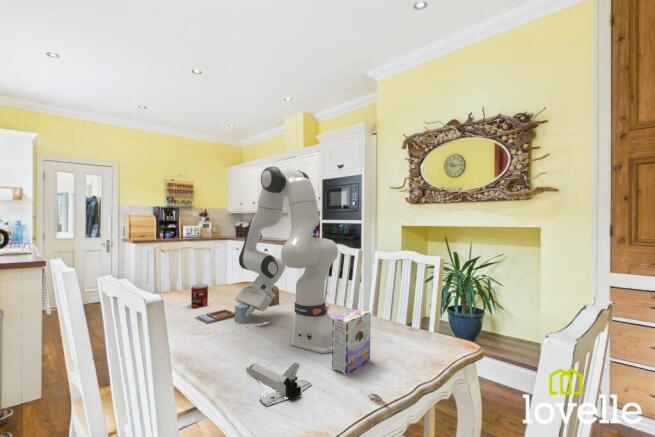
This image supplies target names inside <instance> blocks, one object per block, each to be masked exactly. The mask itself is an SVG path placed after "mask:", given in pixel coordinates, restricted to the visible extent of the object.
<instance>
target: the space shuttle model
mask: <svg viewBox="0 0 655 437" xmlns="http://www.w3.org/2000/svg"><path fill="white" fill-rule="evenodd" d="M299 368H300V364H299V363H297V362H293V364H291V366H290V367H289V368H288V369H287V370H286V371H285V372H283V374H281V373H278V372H276V371H274V370H272V369H269V368H267V367H266V366H264V365H261V364H259V363H257V362H255V363H252V364H251V365H248V366H247V367H246V372H247V374H249V376H250V377H252V378H253V377H254V378H253V379H255V380H257V381H258V380H259V381H261V382H262V383H263V384H264V385H267V386H269V387H271V388H272V389H274V390H276V391H275V392H276V393H274V392H273V393H274V394H273V393H271V394H273V395H271V394H269V395H267V394H268V393H267V394H266V395H267V396H266V395H265V396H266V397H264V396H263V397H262V398H263V400H262V398H261V397H260V398H261V399H260V398H259V401H260V403H261V402H262V403H263V404H262V403H261V404H262V405H264V406H265V405H266V406H265V407H268V406H273V405H275V404H278V403H281V401H282V402H284V400H285V401H287V400H286V399H285V398H284V397H286V398H288V400H294V399H296V398H299V397H301V396H302V395H303V393H302V392H304V391H305V390H306V389H307V388H309V387H310V386H312V383H311V382H309V381H307V380H304V379H298V376H297V373H298V370H299ZM259 381H258V382H259ZM303 390H304V391H303ZM278 392H279V393H278ZM300 392H301V393H300ZM270 395H271V396H270Z"/></svg>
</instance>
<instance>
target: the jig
mask: <svg viewBox="0 0 655 437" xmlns="http://www.w3.org/2000/svg"><path fill="white" fill-rule="evenodd" d="M205 315H206V316H208V317H211V318H213V319H215V322H211V323H207V322H205V321H203V320H201V319H199V318H197V317H194V319H195V320H196V321H197V320H198V322H202V323H203V324H205V325H211V324H214V323H219V322H223V321H227V320H231V319H235V311H231V310H228V309H221V310H217V311H212V312H208V313H205Z"/></svg>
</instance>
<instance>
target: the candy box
mask: <svg viewBox="0 0 655 437" xmlns="http://www.w3.org/2000/svg"><path fill="white" fill-rule="evenodd" d="M332 319H333V338H332V352H331V370H333V371H334V372H337V373H339V372H340V373H339V374H341V373H342V375H344V374H345V375H344V376H347V375H349V374H351V373H352V372H353V370H354V371H355V370H356V369H358V368H360V367H361V366H363V365H364V364H366V363H368V362H369V361H371V311H369V310H363V309H359V308H355V309H354V310H351V311H348V312H345V313H343V314H341V315H339V316H335V317H332ZM348 373H349V374H348ZM346 374H347V375H346Z"/></svg>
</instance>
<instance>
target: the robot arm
mask: <svg viewBox="0 0 655 437" xmlns="http://www.w3.org/2000/svg"><path fill="white" fill-rule="evenodd" d="M260 184H261V190H260V193H259V196H258V197H259V198H258V201H257V210H256V212H255V214H254V215H253V216H252V217H251V219H249V220H250V221H249V223H248V227H247V230H246V235H245V237H244V238H245V239H244V243H243V246H242V249H241V251H240V253H239V256H238V263H239V266H240V268H241V269H243V270H247V271H251V272H253V273H256V274H258V276H257V277H256V278H255V279H254V281H253V282H252V283H251V285H247V286H245V287H243V288H242V289H241V290H240V291H239V292H238V293H237V294H236V295H235V298H234V300H235V301H236V303H238V305H242V304H247V305H250V309H249V310H247V311H245V313H244V315H245V316H246V317H248V316H249V315H250V314H251V315H252V313H254V312H255V311H256V310H257V311H260V312H264V311H265V310H267V308H268V307H270V306H269V304H270V303H271V301H272V299H273V298H274V297H275V294H274V293H273V291H272V288H273V286H275V284H276V283H278V282H279V280H280V279H281V277H282V275H283V274H284V272H285V270H286V267H287V268H289V269H297V270H298V269H304V271H303V273H302V275H301V276H300V277H299V278H298V279H297V281H296V284H295V302H294V306H293V307H294V313H295V315H294V319H293V325H292V332H291V337H290V341H289V344H290V345H291V346H294V347H297V348H300V349H304V350H307V351H311V352H315V353H318V354H330V353H332V338H333V317H331V316H330V315H329V313H328V310H329V309H330V306H329V305H328V306H327V305H326V302H325V290H326V289H325V287H326V279H327V276H328V273H329V270H330V268H331V267H332V264H333V263H334V262H335V261H336V259H337V258H338V255H339V254H338V253H339V248H338V245H337V244H336V242H335V241H334V240H332V239H328V238H323V237H318V238H317V237H316V238H314V237H313V236H314V230H315V228H316V227H317V226H318V225H319V223H320V214H319V213H320V212H319V208H318V203H317V202H318V200H317V196H316V193H315V189H314V186H313V184H312V181H311V180H310V177H309V176H308V174H307V173H305V172H303V171H301V170H295V169H292V168H288V167H278V166H268V167H266V168H264V169H263V170H262V173H261V176H260ZM286 197H288V204H289V205H288V207H289V212H290V214H289V215H290V222H291V229H290V234H289V237H288V239H287V241H286V242H285V243H284V244H282V247H281V251H280V257H279V256H273V255H271V254H269V253H266V252H263V251H260V250H258V249H257V245H258V241H259V238H260V233H261V231H263V230H264V229H268V228H271V227H274V226H276V225H278V224H279V223H280V222H281V220H282V217H283V216H282V215H283V210H284V202H285V198H286Z"/></svg>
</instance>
